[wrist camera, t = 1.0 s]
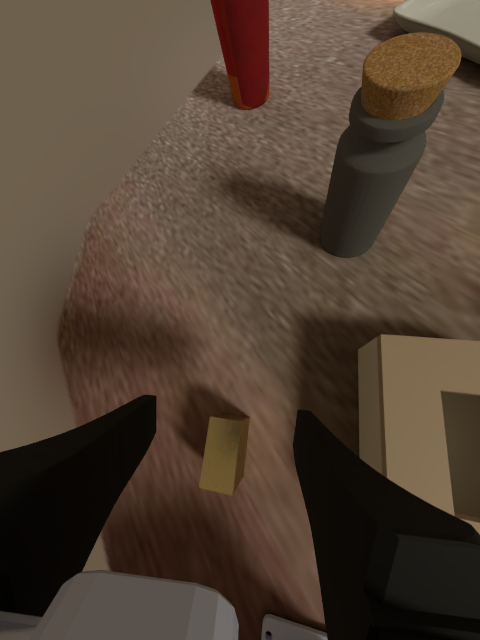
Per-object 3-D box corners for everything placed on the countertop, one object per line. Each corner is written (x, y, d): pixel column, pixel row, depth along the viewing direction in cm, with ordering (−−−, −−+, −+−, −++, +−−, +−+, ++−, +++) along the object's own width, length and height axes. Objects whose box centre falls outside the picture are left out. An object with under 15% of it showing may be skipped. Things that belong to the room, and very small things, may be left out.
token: (243, 476, 21) (232, 495, 17) (216, 470, 22) (198, 487, 18) (250, 417, 23) (241, 421, 19) (224, 413, 23) (209, 416, 19)
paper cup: (284, 83, 37) (283, -90, 24) (262, 118, 35) (247, -47, 22) (241, 79, 39) (218, -81, 26) (218, 111, 38) (182, -41, 25)
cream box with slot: (532, 563, 16) (660, 650, 11) (360, 523, 19) (391, 577, 13) (495, 361, 20) (574, 348, 15) (357, 349, 23) (380, 334, 17)
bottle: (308, 240, 27) (330, 76, 13) (341, 206, 28) (395, 16, 14) (351, 268, 25) (430, 109, 11) (386, 231, 26) (501, 37, 12)
